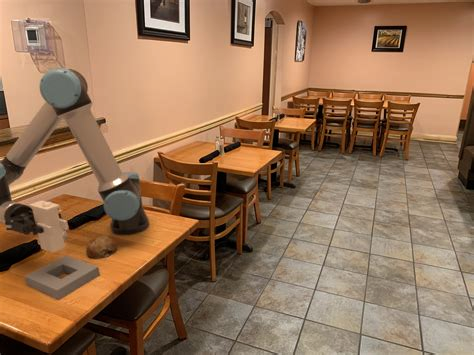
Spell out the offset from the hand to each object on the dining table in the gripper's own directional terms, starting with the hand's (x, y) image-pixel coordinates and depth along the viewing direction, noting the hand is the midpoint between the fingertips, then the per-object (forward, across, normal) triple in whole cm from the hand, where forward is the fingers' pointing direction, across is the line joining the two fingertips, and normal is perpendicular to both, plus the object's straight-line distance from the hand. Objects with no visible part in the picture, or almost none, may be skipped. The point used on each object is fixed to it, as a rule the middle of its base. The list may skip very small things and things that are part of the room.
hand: (59, 228), depth 103 cm
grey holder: (-3, 0, -18) cm, 18 cm away
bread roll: (-7, -17, -18) cm, 26 cm away
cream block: (-5, 0, -8) cm, 9 cm away
